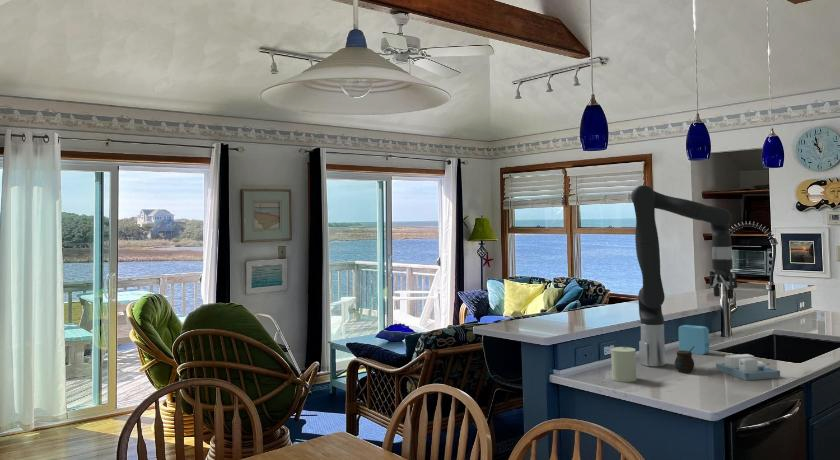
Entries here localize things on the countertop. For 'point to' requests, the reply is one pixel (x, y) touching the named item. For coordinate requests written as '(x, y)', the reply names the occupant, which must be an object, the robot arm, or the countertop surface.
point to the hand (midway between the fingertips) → (723, 297)
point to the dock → (733, 369)
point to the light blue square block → (694, 339)
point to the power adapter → (750, 365)
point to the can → (623, 364)
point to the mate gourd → (684, 361)
